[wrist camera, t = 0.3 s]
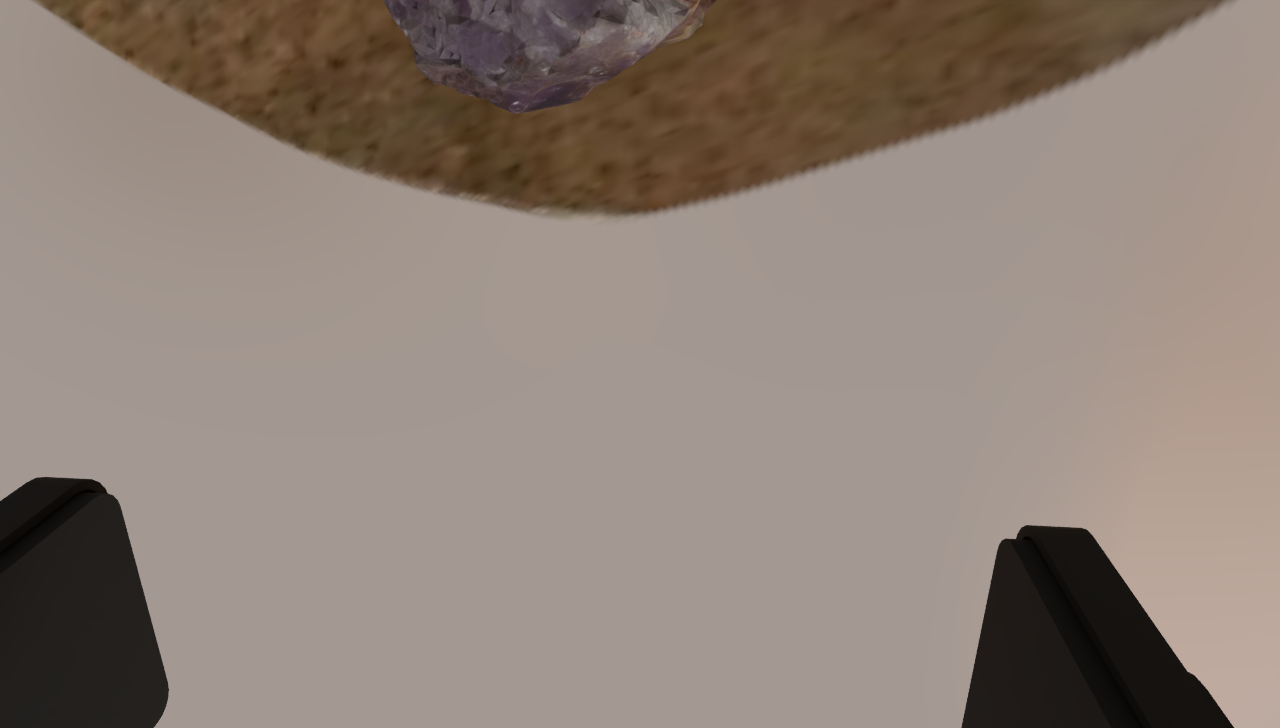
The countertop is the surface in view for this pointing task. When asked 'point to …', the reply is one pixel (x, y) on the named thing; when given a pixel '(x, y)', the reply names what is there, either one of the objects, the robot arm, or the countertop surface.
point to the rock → (538, 43)
